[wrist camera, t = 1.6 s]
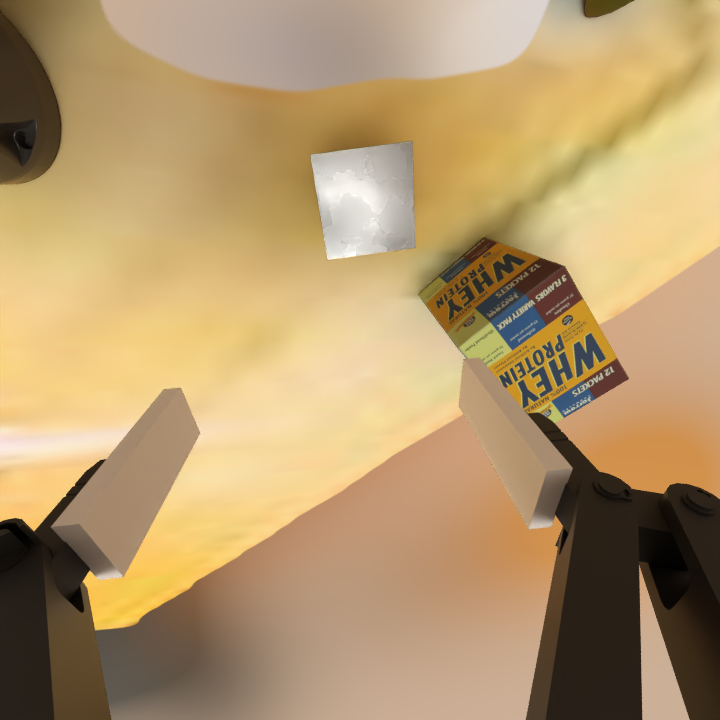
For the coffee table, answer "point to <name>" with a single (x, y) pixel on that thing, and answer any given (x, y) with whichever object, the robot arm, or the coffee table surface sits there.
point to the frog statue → (603, 6)
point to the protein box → (525, 328)
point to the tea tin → (366, 199)
